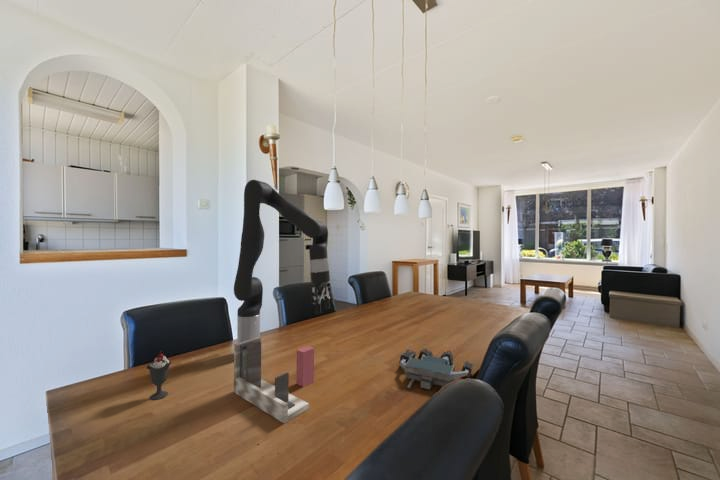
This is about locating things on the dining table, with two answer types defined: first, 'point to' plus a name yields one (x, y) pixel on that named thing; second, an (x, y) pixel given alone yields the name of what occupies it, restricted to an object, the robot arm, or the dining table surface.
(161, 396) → the sundae
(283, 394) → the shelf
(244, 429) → the dining table surface
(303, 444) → the dining table surface
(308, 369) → the book
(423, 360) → the toy
